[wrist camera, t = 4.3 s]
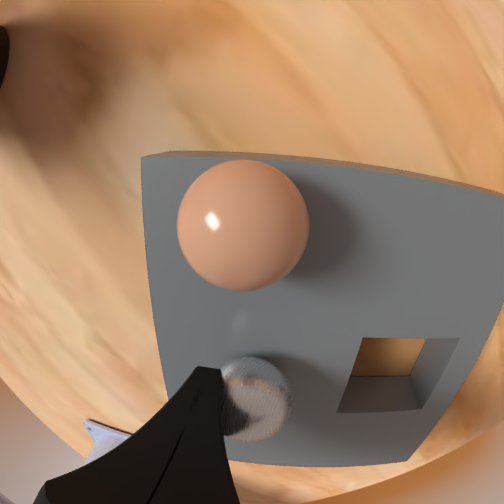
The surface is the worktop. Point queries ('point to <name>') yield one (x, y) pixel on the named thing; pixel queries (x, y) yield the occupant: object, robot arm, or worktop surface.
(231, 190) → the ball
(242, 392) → the steel ball
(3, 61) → the coffee mug
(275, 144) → the worktop surface
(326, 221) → the plate
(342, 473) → the worktop surface
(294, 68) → the worktop surface
